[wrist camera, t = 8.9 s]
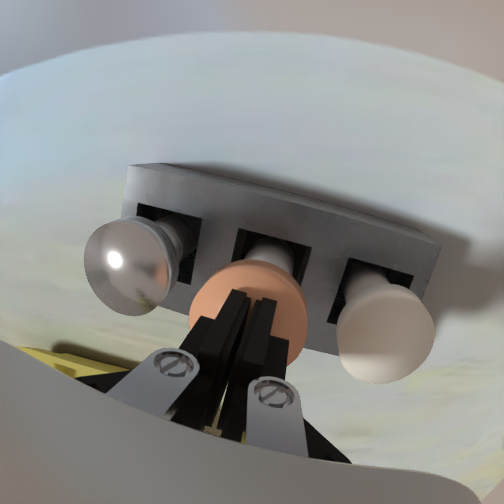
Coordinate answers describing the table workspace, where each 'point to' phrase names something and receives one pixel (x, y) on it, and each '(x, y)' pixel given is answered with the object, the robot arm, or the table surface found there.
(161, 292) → the grey plunger
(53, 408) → the robot arm
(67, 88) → the table surface
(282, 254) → the terracotta plunger
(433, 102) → the table surface
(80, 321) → the table surface
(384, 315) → the ivory plunger
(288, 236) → the grey socket block
